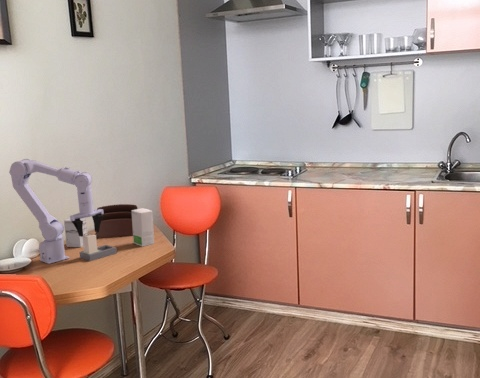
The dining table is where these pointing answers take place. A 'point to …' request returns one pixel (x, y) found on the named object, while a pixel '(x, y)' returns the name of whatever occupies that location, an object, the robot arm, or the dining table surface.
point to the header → (99, 253)
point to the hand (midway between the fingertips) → (89, 234)
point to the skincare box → (142, 227)
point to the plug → (90, 243)
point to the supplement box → (74, 233)
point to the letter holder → (116, 221)
